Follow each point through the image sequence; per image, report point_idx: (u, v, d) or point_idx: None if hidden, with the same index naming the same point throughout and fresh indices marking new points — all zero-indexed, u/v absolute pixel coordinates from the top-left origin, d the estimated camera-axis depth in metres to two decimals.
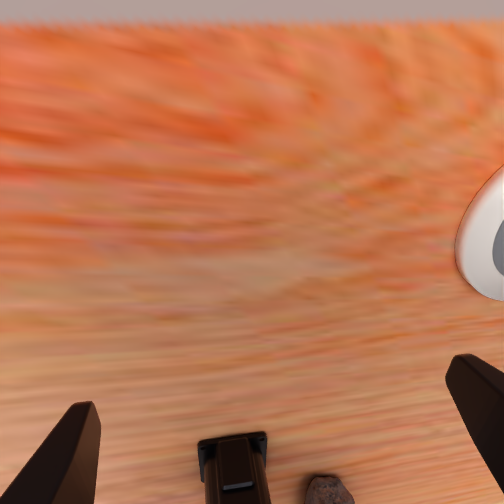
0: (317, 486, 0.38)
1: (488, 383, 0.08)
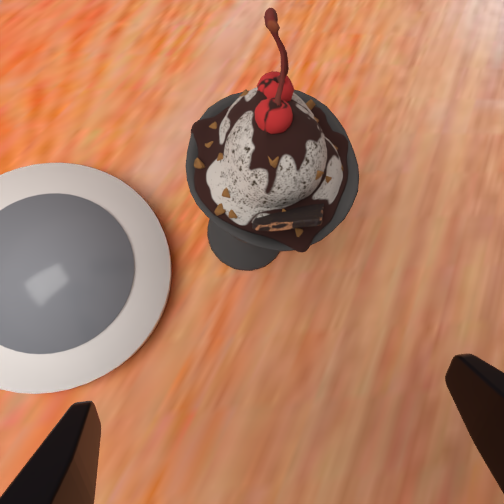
0: None
1: (488, 383, 0.08)
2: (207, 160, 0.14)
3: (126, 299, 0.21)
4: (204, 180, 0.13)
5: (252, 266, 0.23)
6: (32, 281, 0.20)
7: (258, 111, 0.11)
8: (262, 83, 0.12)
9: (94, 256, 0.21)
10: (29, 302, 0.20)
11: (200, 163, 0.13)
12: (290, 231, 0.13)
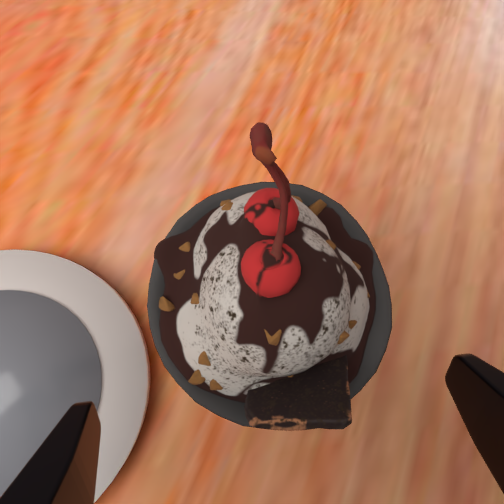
0: None
1: (488, 383, 0.08)
2: (177, 299, 0.09)
3: None
4: (174, 328, 0.09)
5: None
6: None
7: (246, 268, 0.07)
8: (251, 208, 0.08)
9: (50, 369, 0.17)
10: None
11: (167, 305, 0.09)
12: None
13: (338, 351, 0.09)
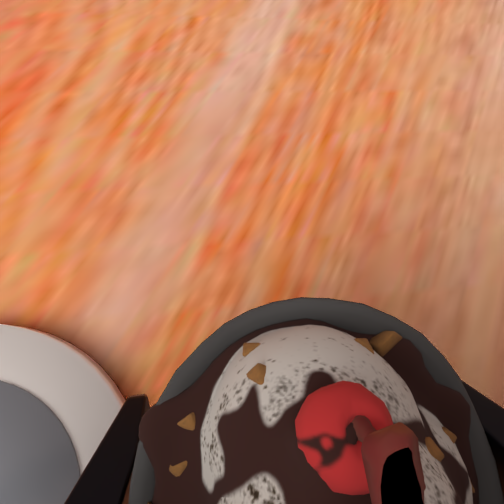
0: None
1: None
2: None
3: None
4: None
5: None
6: None
7: None
8: (311, 437, 0.04)
9: (16, 482, 0.13)
10: None
11: None
12: None
13: None
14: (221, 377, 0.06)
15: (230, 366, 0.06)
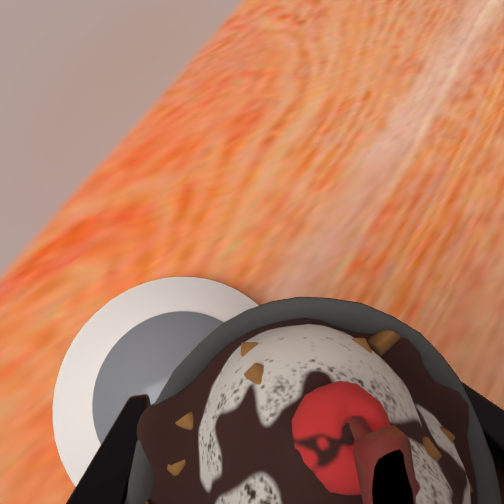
0: None
1: None
2: None
3: None
4: None
5: None
6: None
7: None
8: (308, 438, 0.04)
9: None
10: None
11: None
12: None
13: None
14: (219, 376, 0.06)
15: (228, 365, 0.06)
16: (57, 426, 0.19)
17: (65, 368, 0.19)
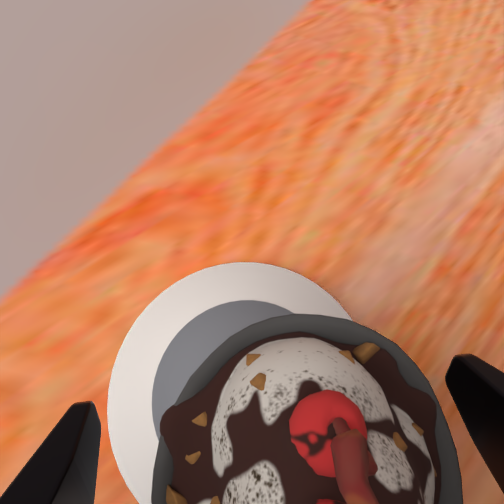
0: None
1: (488, 383, 0.08)
2: (191, 493, 0.07)
3: None
4: None
5: None
6: None
7: None
8: (301, 433, 0.05)
9: None
10: None
11: None
12: None
13: None
14: (228, 382, 0.08)
15: (236, 373, 0.07)
16: (111, 414, 0.17)
17: (125, 350, 0.17)
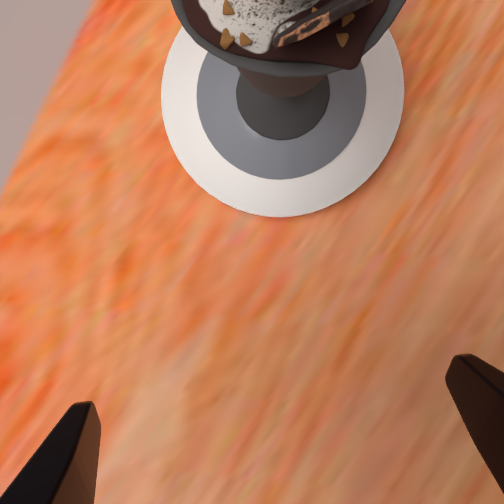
0: None
1: (488, 383, 0.08)
2: None
3: (354, 131, 0.20)
4: (197, 4, 0.10)
5: (298, 132, 0.19)
6: None
7: None
8: None
9: None
10: None
11: None
12: (330, 41, 0.09)
13: None
14: None
15: None
16: (170, 133, 0.20)
17: (166, 80, 0.20)
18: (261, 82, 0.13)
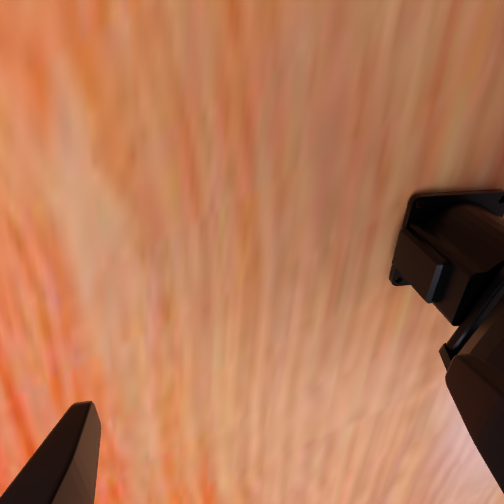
0: None
1: (488, 383, 0.08)
2: None
3: None
4: None
5: None
6: None
7: None
8: None
9: None
10: None
11: None
12: None
13: None
14: None
15: None
16: None
17: None
18: None
